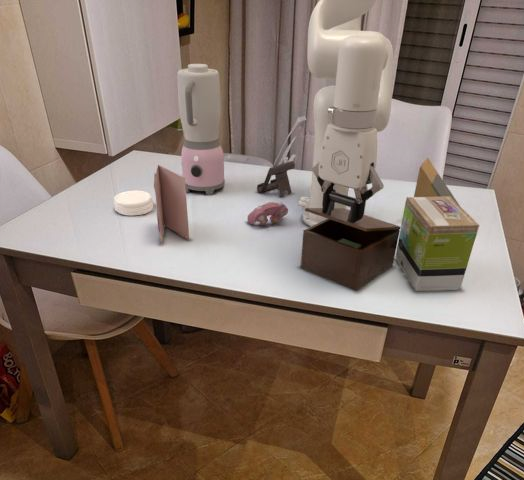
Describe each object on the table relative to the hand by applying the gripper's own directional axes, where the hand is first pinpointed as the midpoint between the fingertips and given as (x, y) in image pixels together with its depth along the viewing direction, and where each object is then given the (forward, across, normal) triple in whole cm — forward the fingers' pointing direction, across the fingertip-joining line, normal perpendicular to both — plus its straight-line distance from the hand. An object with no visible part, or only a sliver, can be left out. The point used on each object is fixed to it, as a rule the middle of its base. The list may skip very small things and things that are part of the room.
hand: (342, 215), depth 99 cm
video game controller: (+14, -28, +11) cm, 33 cm away
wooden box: (+13, 0, +5) cm, 14 cm away
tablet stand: (+13, -42, +30) cm, 53 cm away
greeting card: (+14, -40, -10) cm, 44 cm away
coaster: (+14, -60, -7) cm, 62 cm away
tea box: (+14, +14, +14) cm, 24 cm away
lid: (+3, 0, +5) cm, 5 cm away
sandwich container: (+14, +4, +42) cm, 44 cm away
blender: (+13, -58, +16) cm, 62 cm away
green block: (+13, 0, +3) cm, 13 cm away
